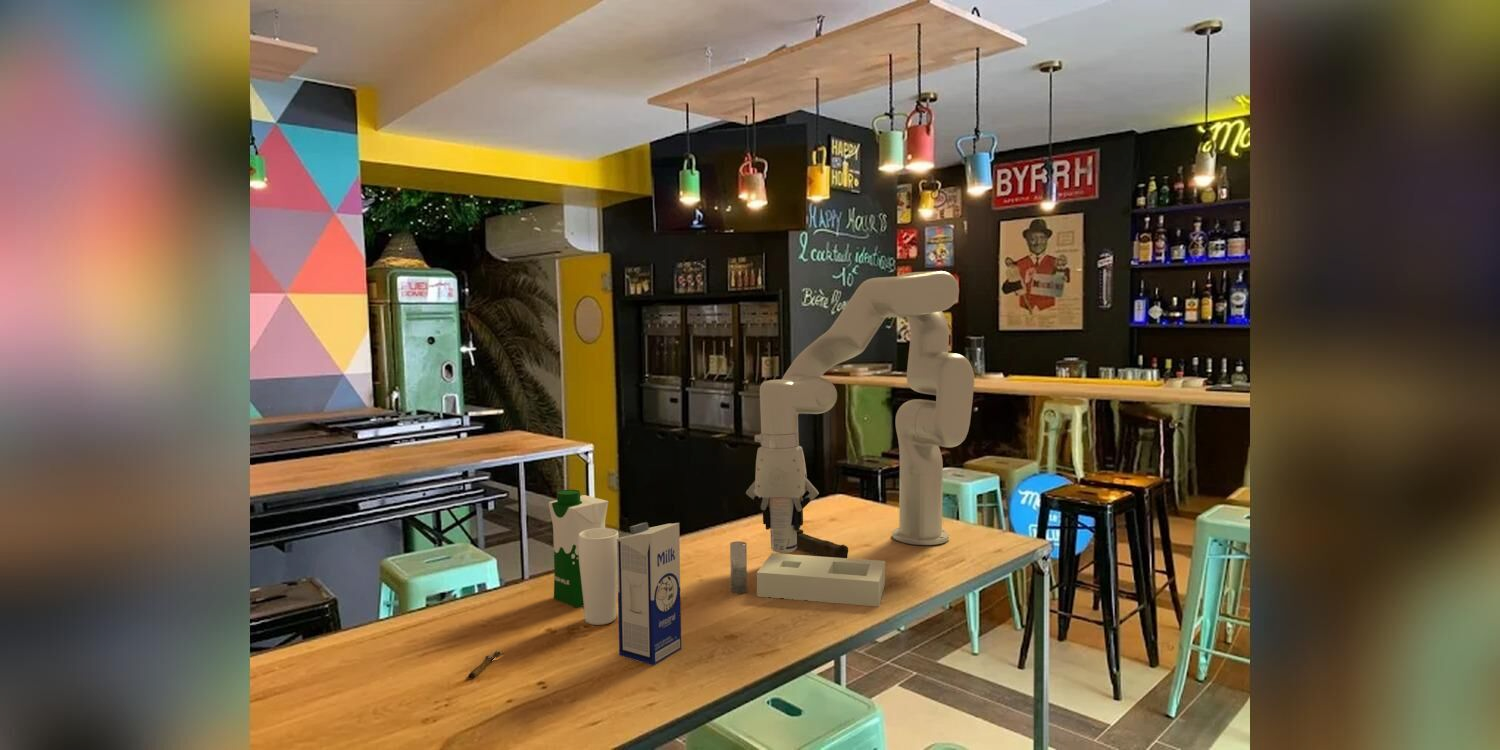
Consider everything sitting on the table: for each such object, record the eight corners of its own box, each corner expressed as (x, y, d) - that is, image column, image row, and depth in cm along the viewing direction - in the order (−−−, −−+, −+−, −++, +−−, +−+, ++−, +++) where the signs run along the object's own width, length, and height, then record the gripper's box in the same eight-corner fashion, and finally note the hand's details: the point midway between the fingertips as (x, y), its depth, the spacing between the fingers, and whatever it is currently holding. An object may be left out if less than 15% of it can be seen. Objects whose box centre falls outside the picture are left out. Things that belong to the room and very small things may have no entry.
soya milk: (546, 598, 146) (543, 490, 145) (587, 586, 153) (585, 482, 151) (574, 610, 140) (571, 498, 139) (616, 597, 147) (613, 489, 145)
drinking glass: (586, 631, 132) (584, 540, 130) (575, 617, 137) (573, 531, 136) (626, 623, 135) (624, 535, 133) (613, 610, 141) (611, 525, 139)
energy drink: (800, 545, 167) (798, 489, 166) (793, 553, 162) (790, 495, 161) (775, 544, 169) (773, 488, 167) (767, 552, 164) (765, 494, 162)
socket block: (772, 575, 158) (771, 553, 158) (885, 584, 153) (885, 560, 152) (757, 596, 147) (756, 572, 146) (878, 606, 141) (878, 581, 141)
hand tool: (849, 562, 167) (849, 540, 167) (835, 566, 165) (835, 543, 164) (791, 542, 182) (791, 522, 182) (777, 545, 180) (777, 525, 179)
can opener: (474, 681, 115) (474, 673, 115) (460, 679, 115) (459, 671, 115) (509, 655, 123) (509, 648, 123) (495, 653, 124) (495, 646, 124)
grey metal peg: (733, 587, 151) (732, 540, 151) (748, 589, 151) (748, 541, 150) (728, 593, 149) (728, 545, 148) (744, 594, 148) (744, 546, 147)
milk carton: (653, 665, 118) (650, 532, 117) (618, 655, 122) (615, 526, 120) (682, 648, 124) (680, 521, 123) (648, 639, 128) (645, 515, 126)
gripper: (734, 444, 162) (738, 532, 163) (818, 444, 157) (821, 535, 159) (744, 437, 169) (747, 521, 171) (825, 437, 165) (827, 524, 166)
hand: (783, 527), depth 165 cm, fingers closed on energy drink, 5 cm apart
